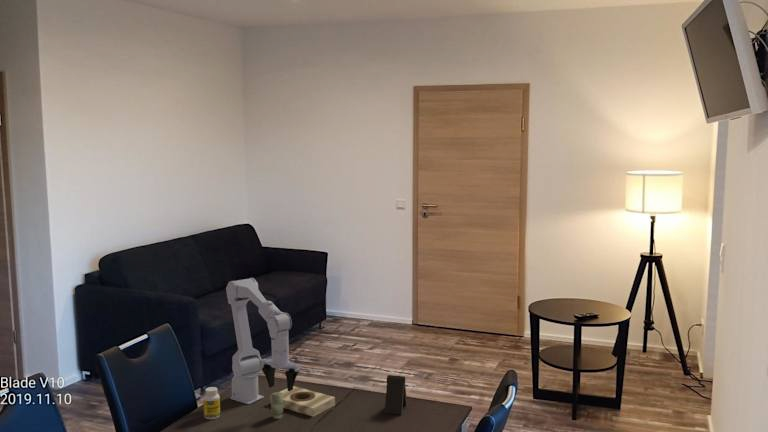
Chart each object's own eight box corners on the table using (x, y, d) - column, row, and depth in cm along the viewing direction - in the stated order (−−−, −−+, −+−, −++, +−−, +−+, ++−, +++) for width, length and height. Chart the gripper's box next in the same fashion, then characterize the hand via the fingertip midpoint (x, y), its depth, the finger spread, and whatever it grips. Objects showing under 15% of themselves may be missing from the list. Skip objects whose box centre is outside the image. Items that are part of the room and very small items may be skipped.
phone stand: (401, 415, 229) (401, 381, 228) (384, 413, 231) (384, 379, 229) (407, 405, 238) (407, 372, 237) (391, 403, 239) (390, 371, 238)
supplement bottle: (206, 421, 225) (205, 392, 224) (202, 415, 230) (201, 387, 229) (222, 417, 228) (221, 390, 227) (218, 412, 233) (217, 385, 232)
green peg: (269, 417, 228) (268, 395, 227) (277, 413, 231) (276, 391, 230) (277, 420, 225) (277, 397, 225) (285, 416, 229) (285, 393, 228)
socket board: (270, 404, 240) (270, 395, 239) (293, 393, 249) (292, 385, 249) (313, 416, 228) (313, 407, 228) (335, 405, 238) (335, 396, 238)
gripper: (255, 349, 225) (256, 388, 227) (291, 356, 219) (292, 395, 220) (267, 344, 232) (268, 382, 233) (303, 349, 225) (303, 388, 227)
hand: (280, 388), depth 227 cm, fingers open, 7 cm apart
